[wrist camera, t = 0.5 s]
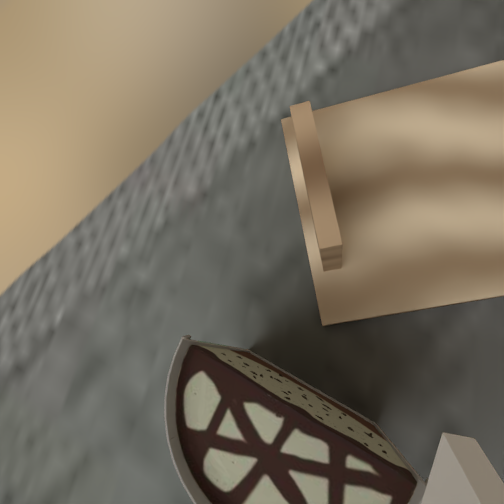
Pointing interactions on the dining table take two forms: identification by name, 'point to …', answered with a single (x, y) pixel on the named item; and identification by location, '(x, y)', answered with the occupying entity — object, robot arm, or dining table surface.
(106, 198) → the dining table surface
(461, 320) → the dining table surface
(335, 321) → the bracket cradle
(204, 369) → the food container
